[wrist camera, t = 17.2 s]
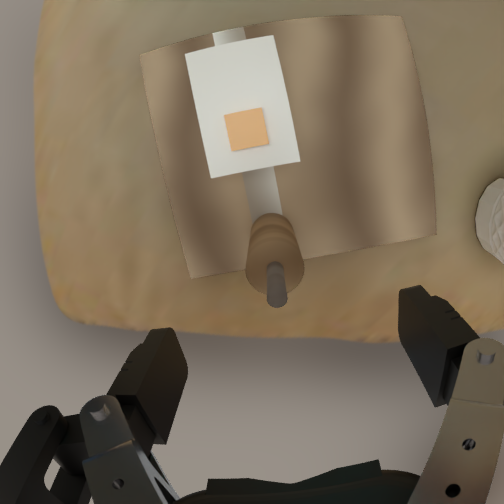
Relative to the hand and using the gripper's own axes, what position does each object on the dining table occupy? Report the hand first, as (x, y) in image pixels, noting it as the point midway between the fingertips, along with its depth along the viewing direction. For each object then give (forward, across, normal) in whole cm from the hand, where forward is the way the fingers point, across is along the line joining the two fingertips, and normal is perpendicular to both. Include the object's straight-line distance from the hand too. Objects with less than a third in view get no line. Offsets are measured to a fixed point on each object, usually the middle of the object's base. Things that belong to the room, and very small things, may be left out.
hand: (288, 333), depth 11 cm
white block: (+11, 0, -8) cm, 14 cm away
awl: (+11, 0, 0) cm, 11 cm away
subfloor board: (+12, -2, -6) cm, 14 cm away
